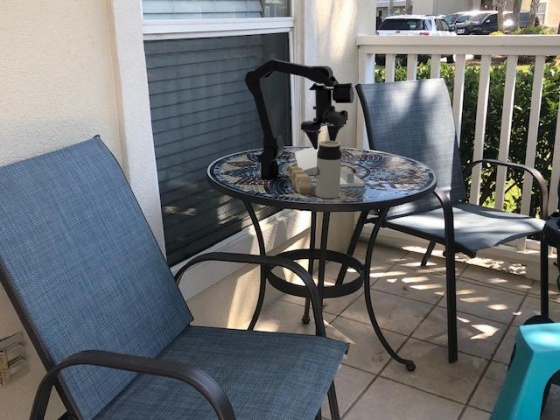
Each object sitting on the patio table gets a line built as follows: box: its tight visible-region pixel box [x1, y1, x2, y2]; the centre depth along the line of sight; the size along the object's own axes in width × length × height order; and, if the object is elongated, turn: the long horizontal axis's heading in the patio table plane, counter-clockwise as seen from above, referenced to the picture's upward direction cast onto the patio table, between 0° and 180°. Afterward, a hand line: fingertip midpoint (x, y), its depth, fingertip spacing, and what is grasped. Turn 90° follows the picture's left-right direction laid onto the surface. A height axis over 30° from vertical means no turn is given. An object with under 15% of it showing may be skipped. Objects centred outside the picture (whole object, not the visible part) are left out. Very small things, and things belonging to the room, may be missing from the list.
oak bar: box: [289, 166, 312, 194], centre depth 201 cm, size 18×4×5 cm, turn 10°
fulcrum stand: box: [340, 166, 366, 188], centre depth 207 cm, size 10×12×4 cm
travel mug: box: [315, 140, 342, 200], centre depth 188 cm, size 8×8×18 cm
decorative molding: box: [294, 146, 319, 176], centre depth 233 cm, size 34×5×10 cm
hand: (324, 147), depth 203 cm, fingers open, 9 cm apart
